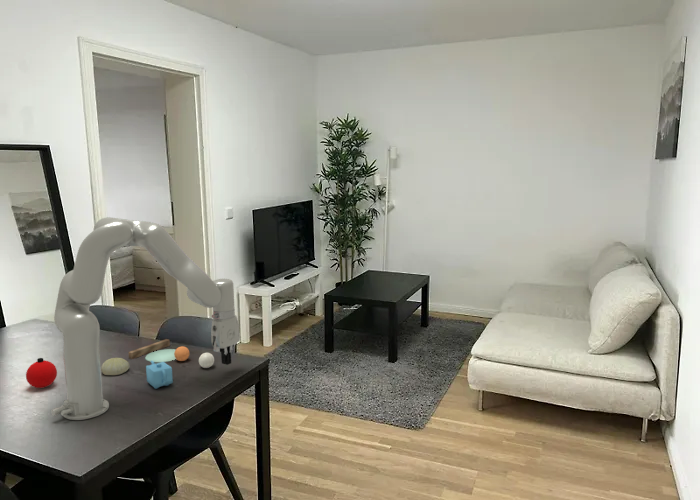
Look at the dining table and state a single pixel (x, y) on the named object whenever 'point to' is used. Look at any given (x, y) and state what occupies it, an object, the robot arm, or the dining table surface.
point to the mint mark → (161, 355)
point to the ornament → (41, 373)
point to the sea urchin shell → (114, 366)
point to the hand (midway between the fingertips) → (226, 363)
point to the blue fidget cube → (159, 374)
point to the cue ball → (206, 360)
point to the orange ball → (181, 353)
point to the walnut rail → (149, 349)
